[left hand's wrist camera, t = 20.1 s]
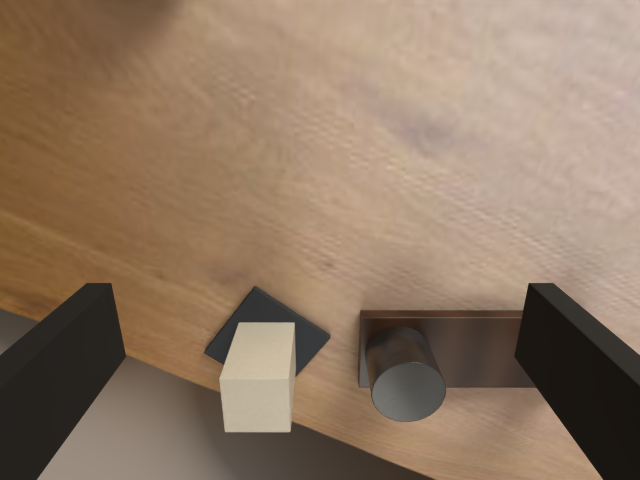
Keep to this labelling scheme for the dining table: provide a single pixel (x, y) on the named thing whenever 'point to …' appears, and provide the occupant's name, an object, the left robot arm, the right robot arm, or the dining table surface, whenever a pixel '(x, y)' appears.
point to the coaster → (269, 310)
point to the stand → (435, 357)
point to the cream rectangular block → (259, 378)
